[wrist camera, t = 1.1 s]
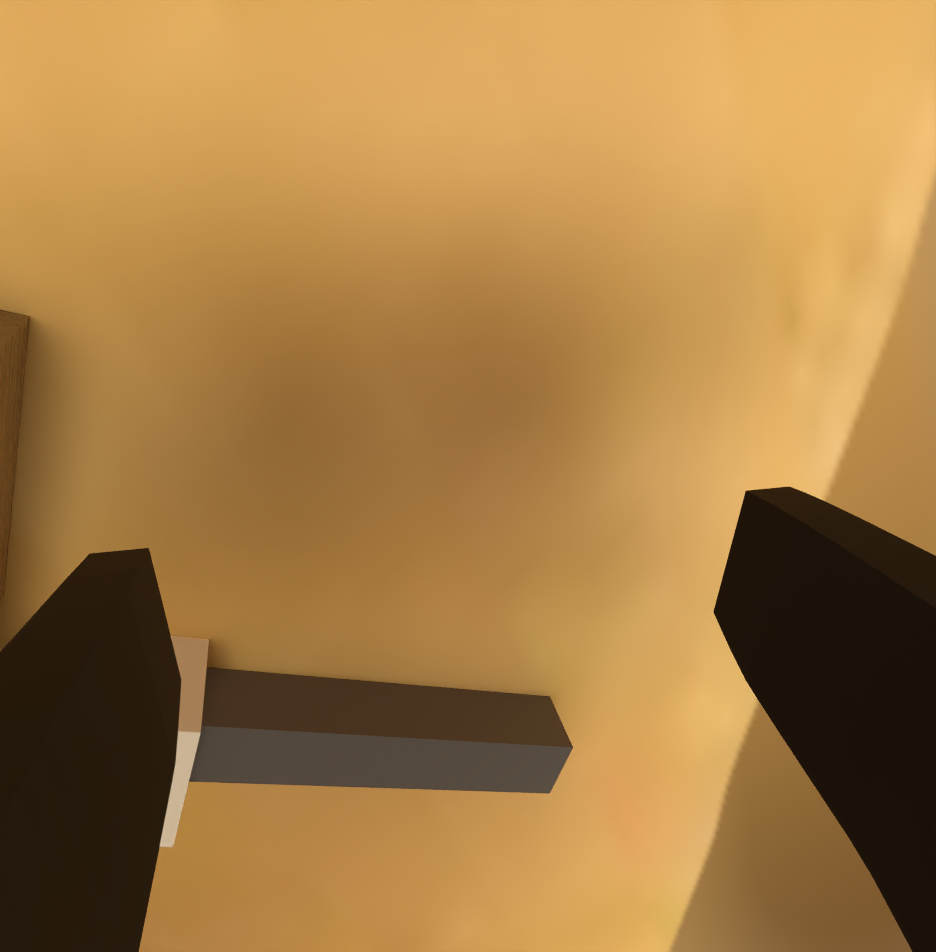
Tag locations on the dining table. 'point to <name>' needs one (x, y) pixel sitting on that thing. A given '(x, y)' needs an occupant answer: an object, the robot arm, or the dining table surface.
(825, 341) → the dining table surface
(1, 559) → the housing
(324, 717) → the plug
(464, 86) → the dining table surface
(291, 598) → the dining table surface
